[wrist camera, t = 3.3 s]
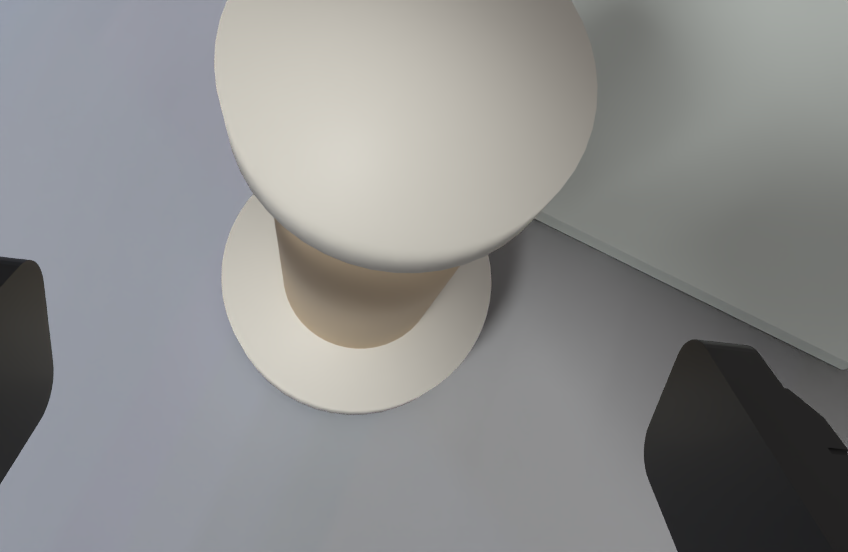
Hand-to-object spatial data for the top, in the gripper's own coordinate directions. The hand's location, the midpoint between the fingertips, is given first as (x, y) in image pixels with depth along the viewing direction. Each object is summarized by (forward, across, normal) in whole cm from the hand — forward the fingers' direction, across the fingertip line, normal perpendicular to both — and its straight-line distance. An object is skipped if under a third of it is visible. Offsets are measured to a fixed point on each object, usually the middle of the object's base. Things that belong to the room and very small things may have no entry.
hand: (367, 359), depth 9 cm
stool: (+9, 0, +4) cm, 10 cm away
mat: (+14, -10, -1) cm, 17 cm away
